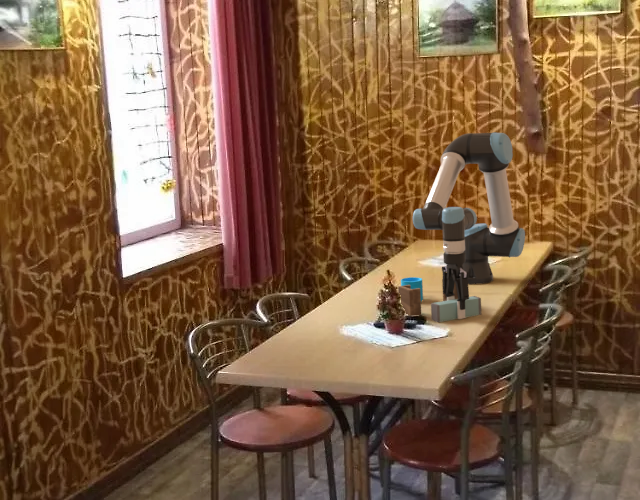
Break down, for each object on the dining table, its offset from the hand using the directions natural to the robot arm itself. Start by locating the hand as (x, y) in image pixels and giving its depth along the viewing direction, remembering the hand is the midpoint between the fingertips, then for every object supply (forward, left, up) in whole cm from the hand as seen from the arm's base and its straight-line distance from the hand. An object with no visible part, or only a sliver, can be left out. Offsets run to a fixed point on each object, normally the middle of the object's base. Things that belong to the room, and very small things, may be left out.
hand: (456, 316), depth 330 cm
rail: (0, 0, 0) cm, 0 cm away
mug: (-2, -33, -1) cm, 33 cm away
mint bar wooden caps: (+2, -13, 0) cm, 13 cm away
